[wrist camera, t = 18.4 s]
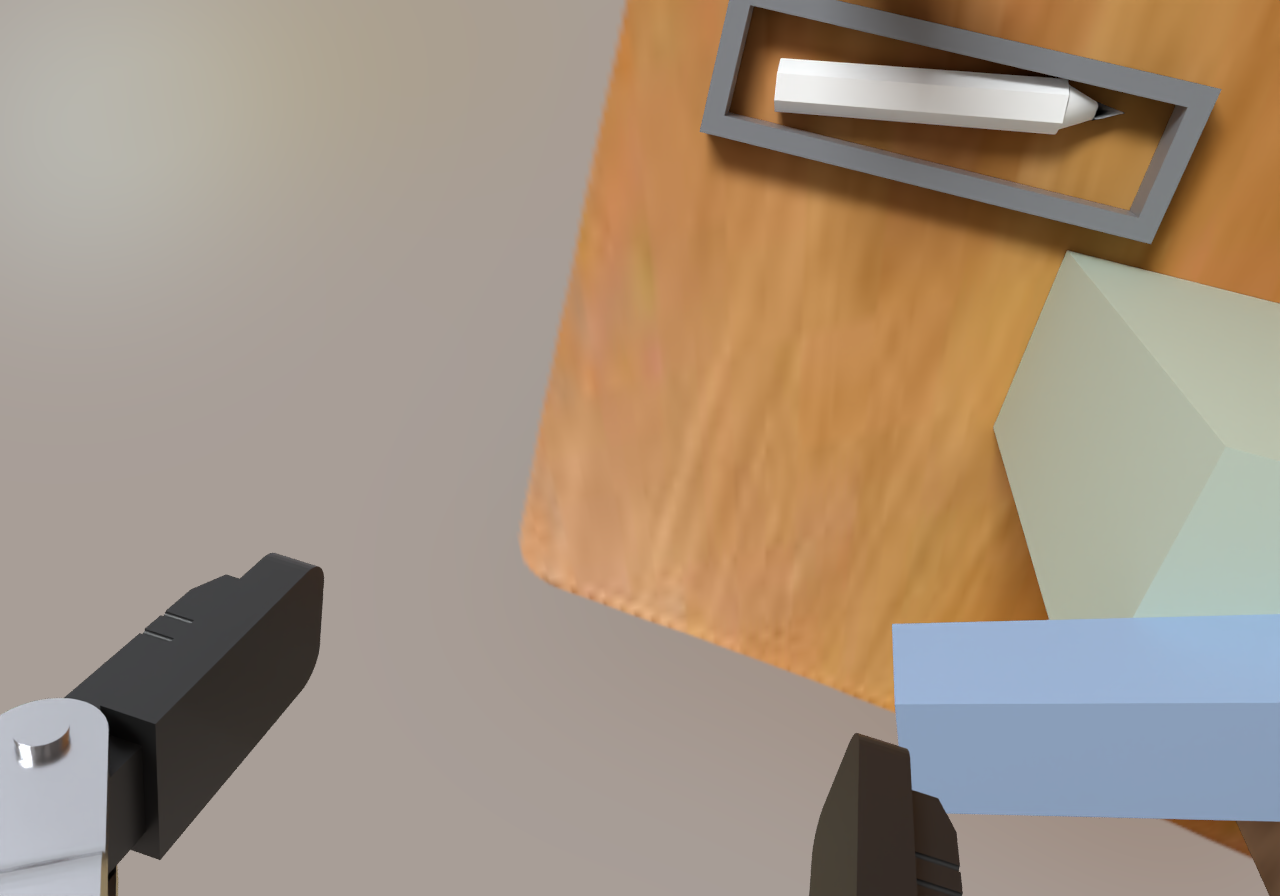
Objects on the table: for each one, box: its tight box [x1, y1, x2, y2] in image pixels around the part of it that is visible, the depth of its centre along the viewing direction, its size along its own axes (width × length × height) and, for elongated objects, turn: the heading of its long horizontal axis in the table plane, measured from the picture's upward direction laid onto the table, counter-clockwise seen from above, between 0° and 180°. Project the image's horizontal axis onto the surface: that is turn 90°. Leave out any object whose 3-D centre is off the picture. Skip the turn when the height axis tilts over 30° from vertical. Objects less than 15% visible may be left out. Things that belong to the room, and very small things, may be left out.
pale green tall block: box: [993, 250, 1280, 620], centre depth 39 cm, size 10×12×24 cm
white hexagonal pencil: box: [774, 58, 1124, 135], centre depth 45 cm, size 3×2×16 cm
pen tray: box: [700, 0, 1221, 244], centre depth 45 cm, size 7×22×2 cm, turn 77°
